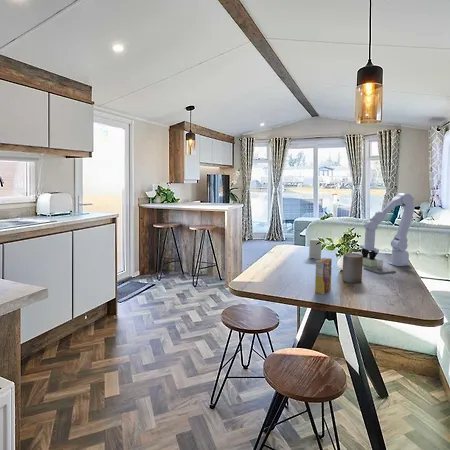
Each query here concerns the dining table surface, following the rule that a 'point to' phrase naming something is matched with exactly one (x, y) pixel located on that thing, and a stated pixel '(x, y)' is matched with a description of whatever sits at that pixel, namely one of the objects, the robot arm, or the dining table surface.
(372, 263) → the collar
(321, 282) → the candy box
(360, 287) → the dining table surface
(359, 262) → the pillar candle
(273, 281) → the dining table surface
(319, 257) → the supplement box
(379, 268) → the post stand
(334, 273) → the dining table surface
